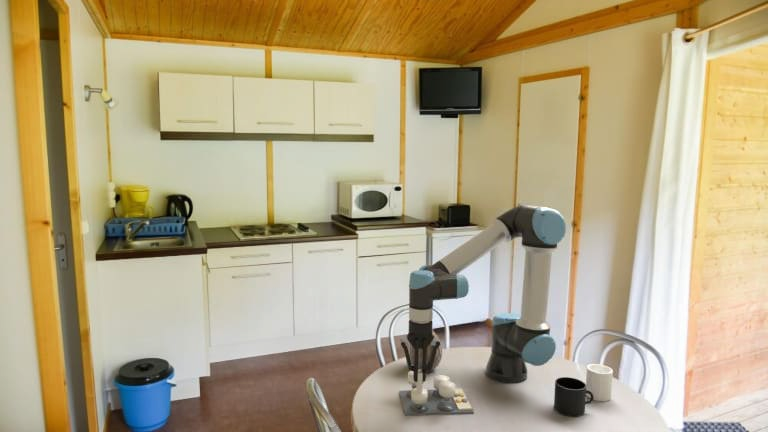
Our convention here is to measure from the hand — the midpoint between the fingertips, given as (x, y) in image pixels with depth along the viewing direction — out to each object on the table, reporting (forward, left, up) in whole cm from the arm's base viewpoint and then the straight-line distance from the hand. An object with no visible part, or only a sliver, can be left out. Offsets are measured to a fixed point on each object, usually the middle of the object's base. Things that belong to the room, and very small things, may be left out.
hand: (419, 390), depth 162 cm
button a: (-9, -9, -5) cm, 14 cm away
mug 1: (-50, +3, -7) cm, 51 cm away
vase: (-7, -32, -7) cm, 33 cm away
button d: (0, 0, -5) cm, 5 cm away
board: (-6, -5, -7) cm, 10 cm away
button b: (-9, 0, -3) cm, 10 cm away
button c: (0, -9, -3) cm, 10 cm away
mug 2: (-63, -8, -7) cm, 64 cm away
